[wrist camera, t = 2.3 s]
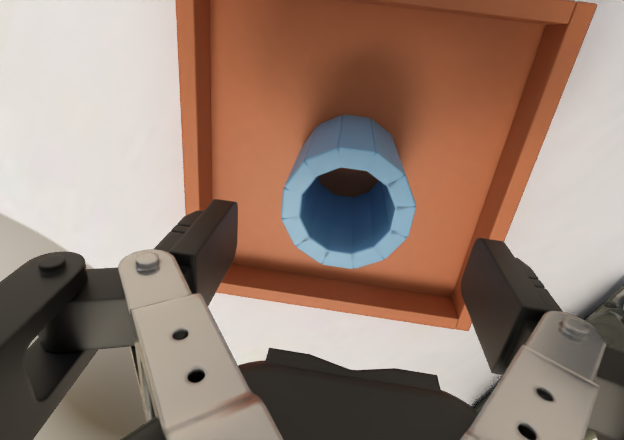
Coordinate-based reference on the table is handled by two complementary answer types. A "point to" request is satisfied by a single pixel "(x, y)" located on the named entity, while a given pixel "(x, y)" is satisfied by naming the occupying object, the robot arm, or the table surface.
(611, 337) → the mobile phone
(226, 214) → the robot arm
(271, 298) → the tray
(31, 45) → the table surface
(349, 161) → the blue hollow tube
